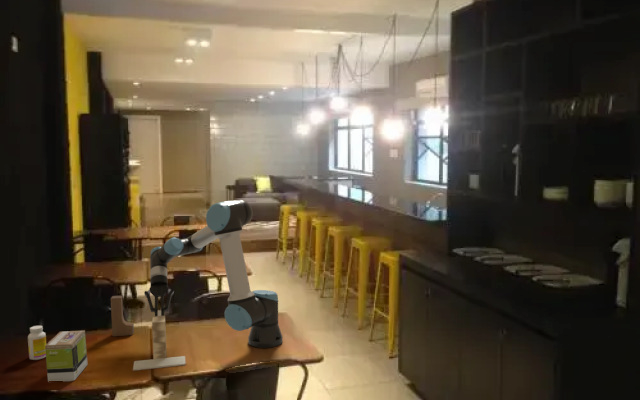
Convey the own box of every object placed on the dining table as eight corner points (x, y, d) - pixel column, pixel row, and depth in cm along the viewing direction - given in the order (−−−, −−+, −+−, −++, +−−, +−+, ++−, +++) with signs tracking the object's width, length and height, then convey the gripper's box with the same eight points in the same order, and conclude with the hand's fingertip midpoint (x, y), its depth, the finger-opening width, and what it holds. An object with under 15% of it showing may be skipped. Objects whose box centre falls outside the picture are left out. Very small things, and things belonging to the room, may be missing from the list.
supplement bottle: (50, 355, 230) (48, 325, 228) (38, 361, 224) (36, 330, 222) (38, 353, 232) (36, 324, 231) (25, 359, 226) (23, 329, 224)
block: (166, 352, 233) (165, 315, 231) (166, 359, 225) (164, 321, 223) (154, 353, 231) (152, 316, 230) (153, 360, 224) (152, 322, 222)
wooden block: (134, 332, 258) (132, 294, 256) (132, 335, 253) (131, 297, 251) (113, 333, 256) (112, 295, 254) (112, 336, 251) (110, 298, 249)
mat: (185, 357, 227) (185, 355, 227) (185, 364, 219) (185, 363, 219) (134, 362, 222) (134, 361, 222) (133, 370, 214) (132, 369, 214)
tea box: (62, 366, 219) (60, 330, 217) (88, 365, 219) (86, 329, 218) (46, 382, 204) (44, 344, 202) (74, 381, 205) (72, 343, 203)
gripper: (173, 281, 255) (175, 327, 241) (144, 283, 252) (144, 330, 238) (173, 272, 250) (175, 319, 235) (143, 274, 246) (143, 322, 232)
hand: (159, 325), depth 237 cm, fingers closed
